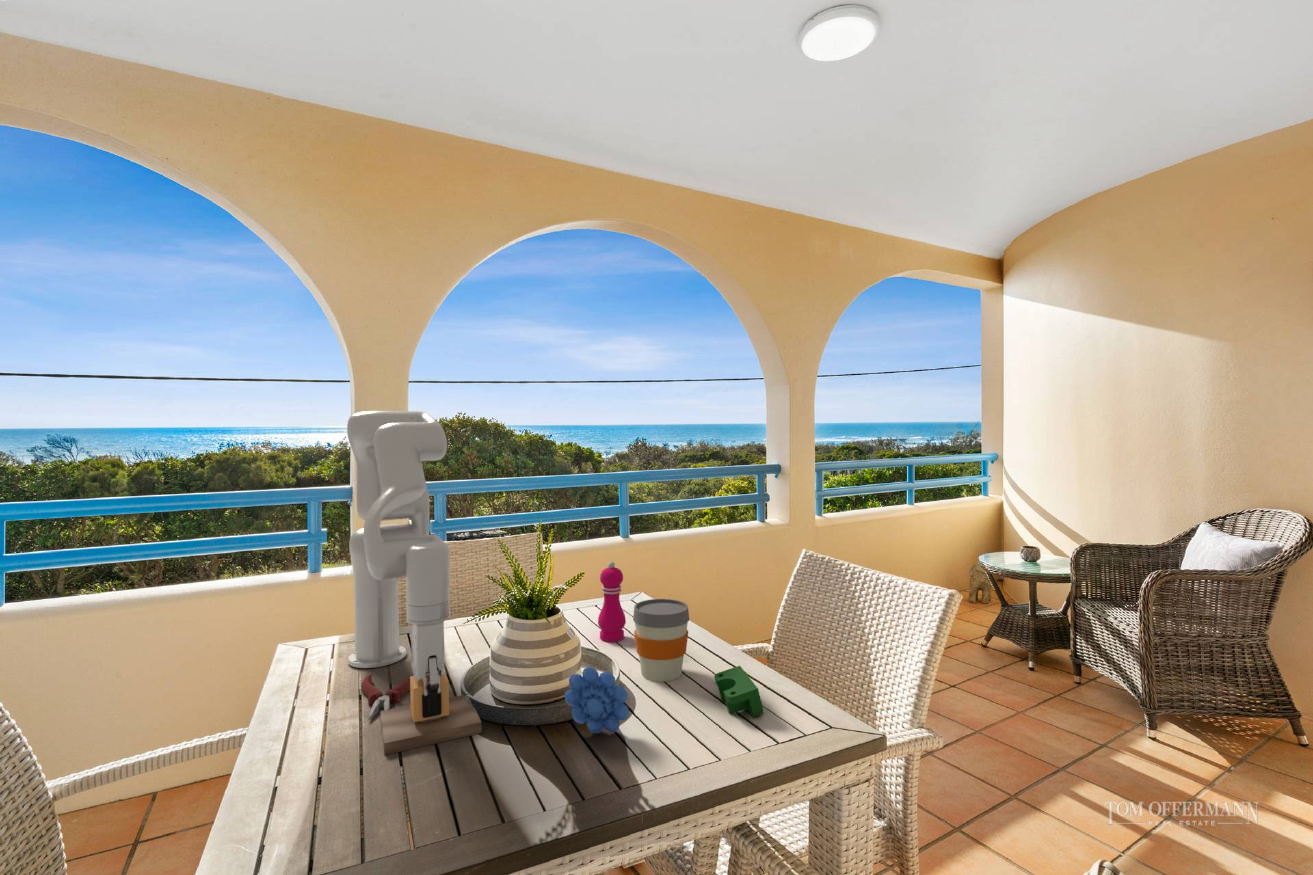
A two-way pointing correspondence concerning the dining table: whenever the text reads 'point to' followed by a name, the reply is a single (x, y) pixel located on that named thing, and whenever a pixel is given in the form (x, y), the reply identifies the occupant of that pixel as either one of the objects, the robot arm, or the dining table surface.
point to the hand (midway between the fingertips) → (429, 707)
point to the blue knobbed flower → (597, 700)
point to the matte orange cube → (418, 691)
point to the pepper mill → (611, 605)
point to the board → (427, 726)
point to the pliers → (377, 696)
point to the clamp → (738, 691)
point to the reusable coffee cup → (661, 637)
